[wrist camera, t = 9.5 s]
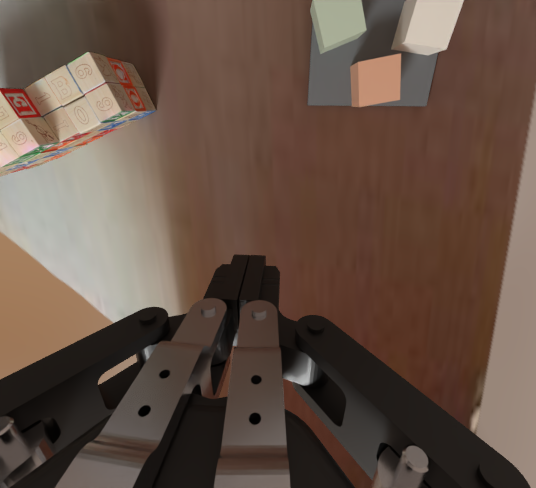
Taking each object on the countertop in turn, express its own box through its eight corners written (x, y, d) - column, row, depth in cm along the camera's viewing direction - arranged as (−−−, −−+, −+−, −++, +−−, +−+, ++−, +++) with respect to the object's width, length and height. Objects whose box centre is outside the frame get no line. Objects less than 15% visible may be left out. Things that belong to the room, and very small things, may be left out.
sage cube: (310, 10, 33) (312, -2, 29) (348, -7, 32) (357, -23, 28) (320, 54, 35) (324, 47, 31) (357, 38, 34) (366, 30, 30)
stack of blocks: (133, 61, 38) (69, 45, 27) (158, 110, 40) (108, 114, 29) (12, 125, 42) (-85, 134, 31) (41, 166, 45) (-40, 187, 34)
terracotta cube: (350, 66, 36) (357, 62, 32) (388, 58, 35) (401, 53, 31) (351, 106, 37) (359, 107, 33) (387, 100, 37) (400, 99, 33)
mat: (313, 0, 34) (314, -3, 33) (447, -2, 33) (450, -4, 32) (307, 105, 38) (307, 105, 38) (423, 106, 38) (426, 106, 37)
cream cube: (404, 1, 33) (420, -13, 28) (443, 8, 33) (465, -5, 29) (391, 49, 35) (404, 42, 30) (428, 55, 35) (446, 49, 31)
